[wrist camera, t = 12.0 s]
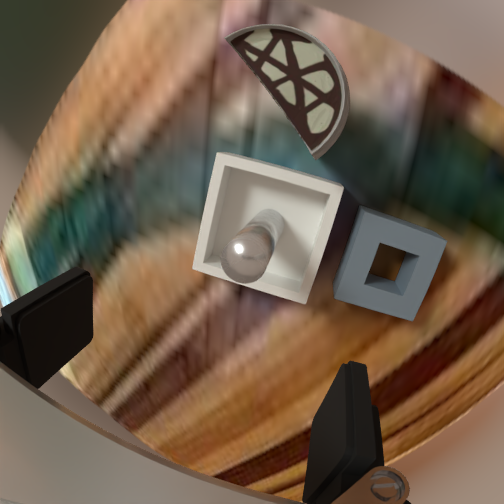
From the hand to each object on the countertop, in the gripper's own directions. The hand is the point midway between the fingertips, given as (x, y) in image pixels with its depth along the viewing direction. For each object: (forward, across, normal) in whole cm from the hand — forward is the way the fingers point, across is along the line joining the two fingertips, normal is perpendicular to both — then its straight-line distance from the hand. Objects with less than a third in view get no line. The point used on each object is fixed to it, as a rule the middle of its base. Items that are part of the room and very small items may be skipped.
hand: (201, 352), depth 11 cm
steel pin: (+24, +1, +1) cm, 24 cm away
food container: (+25, +1, -13) cm, 28 cm away
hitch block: (+25, -12, +1) cm, 28 cm away
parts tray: (+25, +1, +1) cm, 25 cm away
